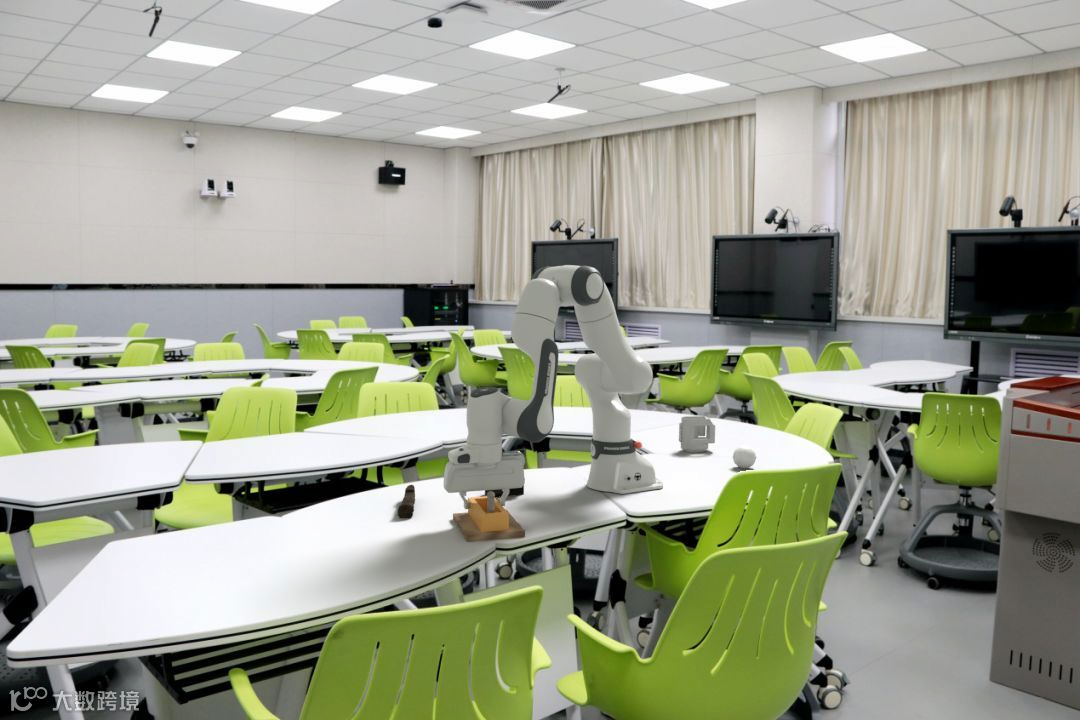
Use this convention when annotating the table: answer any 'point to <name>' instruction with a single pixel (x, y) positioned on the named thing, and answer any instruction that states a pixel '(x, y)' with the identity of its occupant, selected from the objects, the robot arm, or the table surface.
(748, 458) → the grey rounded knob
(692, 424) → the cable organizer
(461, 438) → the table surface
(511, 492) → the digital camera
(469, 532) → the board
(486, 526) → the small orange storage bin
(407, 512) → the brown wooden log
